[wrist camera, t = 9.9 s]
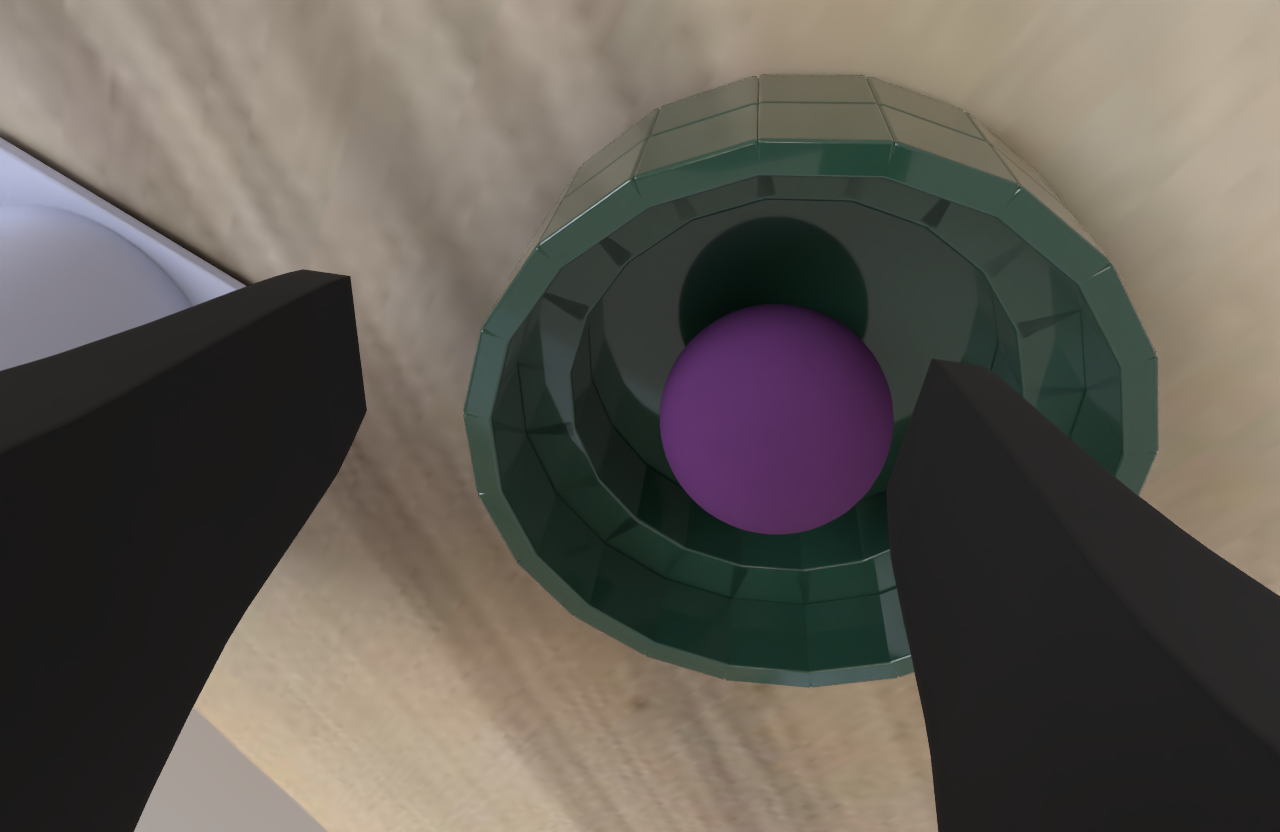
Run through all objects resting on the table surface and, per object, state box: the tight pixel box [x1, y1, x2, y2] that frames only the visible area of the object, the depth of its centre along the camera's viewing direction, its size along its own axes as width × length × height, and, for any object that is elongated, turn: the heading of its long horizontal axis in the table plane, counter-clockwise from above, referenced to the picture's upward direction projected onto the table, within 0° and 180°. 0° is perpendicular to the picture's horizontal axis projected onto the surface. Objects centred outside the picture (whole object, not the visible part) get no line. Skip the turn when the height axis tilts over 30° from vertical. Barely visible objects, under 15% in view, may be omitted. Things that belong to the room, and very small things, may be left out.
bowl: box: [464, 74, 1158, 687], centre depth 18 cm, size 13×13×5 cm
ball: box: [660, 304, 894, 534], centre depth 18 cm, size 5×5×5 cm
